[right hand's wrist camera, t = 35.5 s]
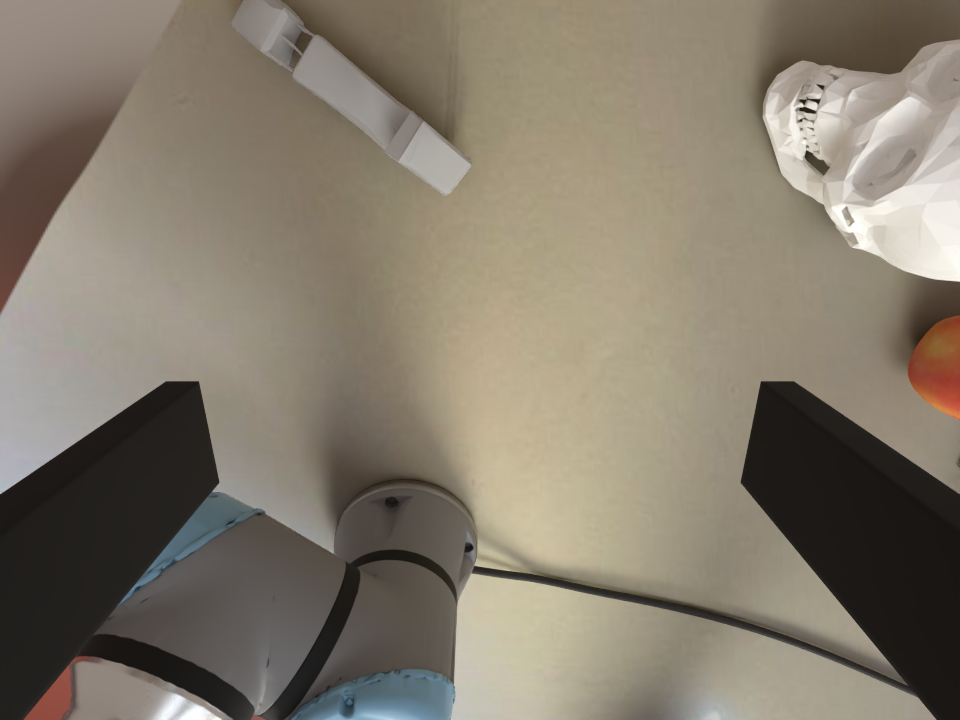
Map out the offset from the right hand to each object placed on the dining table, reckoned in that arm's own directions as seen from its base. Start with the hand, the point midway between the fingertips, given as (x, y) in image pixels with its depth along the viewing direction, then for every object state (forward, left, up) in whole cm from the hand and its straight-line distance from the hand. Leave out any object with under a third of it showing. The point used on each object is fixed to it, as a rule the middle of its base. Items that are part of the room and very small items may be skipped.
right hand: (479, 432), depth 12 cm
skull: (-22, -24, -36) cm, 49 cm away
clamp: (+14, -3, -36) cm, 39 cm away
